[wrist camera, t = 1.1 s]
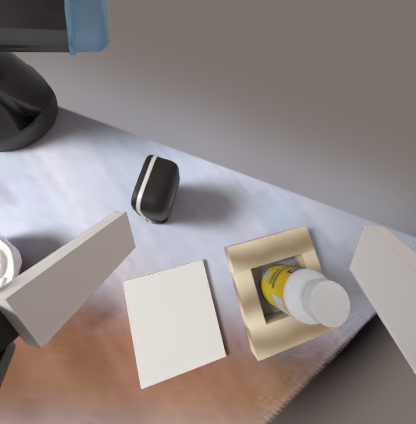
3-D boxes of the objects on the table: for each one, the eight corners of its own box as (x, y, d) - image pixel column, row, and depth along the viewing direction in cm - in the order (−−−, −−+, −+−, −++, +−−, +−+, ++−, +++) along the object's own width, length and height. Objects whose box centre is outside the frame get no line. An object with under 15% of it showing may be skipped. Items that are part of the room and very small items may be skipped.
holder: (224, 247, 31) (227, 247, 29) (297, 227, 34) (306, 226, 31) (251, 351, 28) (258, 361, 26) (328, 321, 31) (341, 327, 29)
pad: (123, 281, 28) (122, 282, 27) (202, 259, 30) (202, 260, 29) (142, 386, 26) (141, 389, 25) (225, 354, 28) (226, 356, 27)
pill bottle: (288, 260, 32) (346, 265, 21) (299, 299, 31) (367, 326, 20) (253, 269, 31) (295, 280, 20) (263, 310, 30) (315, 346, 19)
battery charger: (169, 229, 30) (163, 216, 19) (145, 222, 30) (126, 206, 19) (181, 189, 32) (182, 157, 21) (159, 183, 32) (149, 146, 21)
